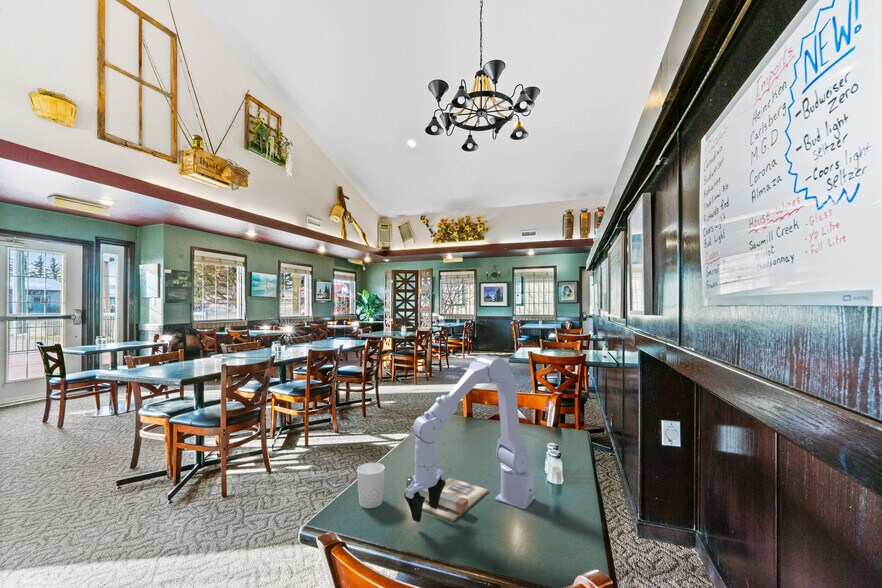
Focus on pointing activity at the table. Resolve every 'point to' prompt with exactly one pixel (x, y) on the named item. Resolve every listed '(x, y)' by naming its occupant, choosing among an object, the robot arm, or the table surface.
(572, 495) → the table surface
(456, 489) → the label board
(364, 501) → the white cup
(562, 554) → the table surface
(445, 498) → the light grey long piece
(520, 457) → the robot arm
